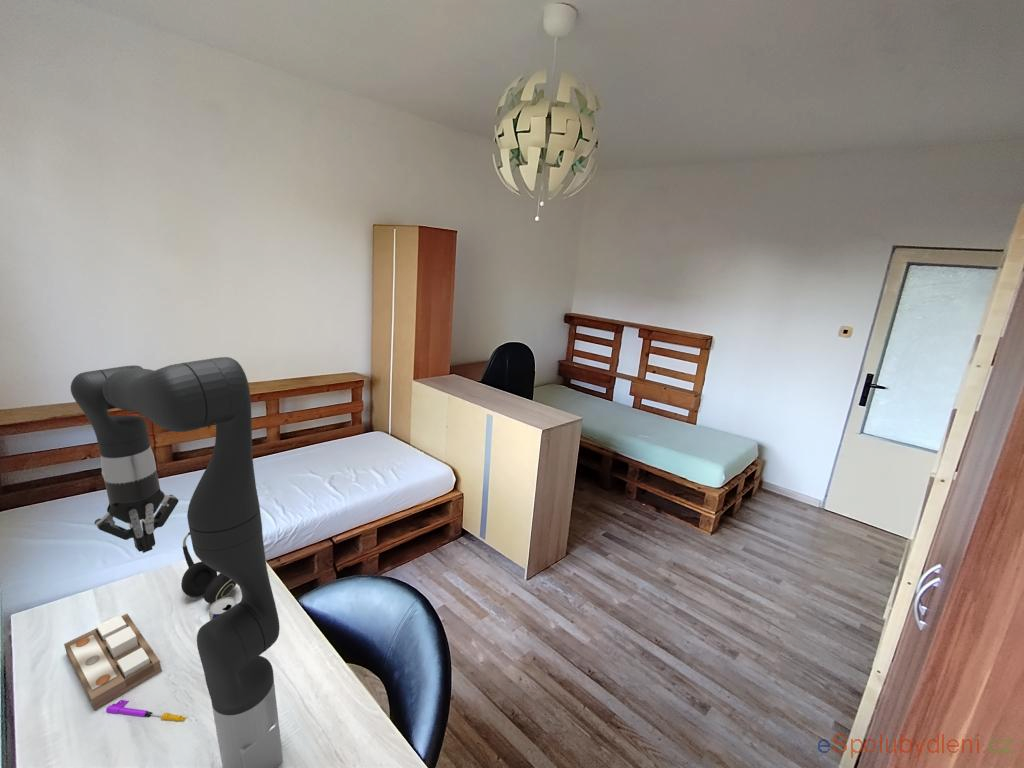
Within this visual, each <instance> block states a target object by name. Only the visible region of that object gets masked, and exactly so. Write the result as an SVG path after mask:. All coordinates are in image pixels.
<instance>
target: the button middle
mask: <svg viewBox="0 0 1024 768" xmlns="http://www.w3.org/2000/svg"><path fill="white" fill-rule="evenodd" d="M105 639H106V643H107V647H108V650H109V651H110V653H111V655H112V657H113V658H114V659H115V658H116V657H118V656H120V655H122V654H124V653H126V652H128V651H129V650H131V649H133V648H135V647H137V646H138V642H137V637H136V635H135V633H134V632H133V630H132V629H131V627H130V626H129V627H127V628H125V629H123V630H121V631H119V632H117V633H115V634H113V635H111V636H109V637H107V638H105Z"/></svg>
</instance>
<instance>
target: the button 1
mask: <svg viewBox="0 0 1024 768" xmlns="http://www.w3.org/2000/svg"><path fill="white" fill-rule="evenodd" d="M121 616H122V615H121V614H118V615H117V616H114V617H112V618H111V619H110V618H109V619H108V620H106V621H104V622H102V623H100V624H97V625H96V628H97V630H98V634H99V637H100V639H101V640H102V642H103V641H105V640H106V639H105V638H107V637H109V636H111V635H113V634H115V633H117V632H119V631H121V630H123V629H125V628H127V625H126V623H125V621H124V620H123V618H122V617H121Z"/></svg>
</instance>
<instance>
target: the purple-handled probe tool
mask: <svg viewBox="0 0 1024 768" xmlns="http://www.w3.org/2000/svg"><path fill="white" fill-rule="evenodd" d="M129 702H130V701H129V700H125V699H120V700H118V701H117V702H116V703H112V704H111V705H109V706H107V707H106V709H105V711H106V712H107V713H108V714H109V713H110V714H117V715H118V714H119V715H121V714H122V715H127V716H135V717H141V718H142V717H143V718H146V717H147V718H150V717H151V716H154V717H160V720H161V721H170V722H171V721H173V722H177V723H178V722H184V721H186V719H187V717H185V716H183V715H179V714H172V713H170V712H164V713H162V714H161V715H160V714H153V712H152V711H149V710H144V709H138V708H131V707H130V708H129V707H126V705H127V704H128V703H129Z"/></svg>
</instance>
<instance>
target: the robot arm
mask: <svg viewBox="0 0 1024 768" xmlns="http://www.w3.org/2000/svg"><path fill="white" fill-rule="evenodd" d="M249 385H250V384H249V380H248V378H247V375H246V372H245V370H244V368H243V367H242V365H241V364H240V362H238V361H237V360H236V359H234V358H232V357H228V356H221V357H214V358H207V359H199V360H192V361H187V362H186V361H185V362H181V363H174V364H169V365H166V366H163V367H161V368H158V369H156V370H154V369H149V368H144V367H142V366H140V365H137V364H136V365H133V364H132V365H123V366H118V367H117V366H116V367H109V368H105V369H104V368H103V369H96V370H89V371H84V372H80V373H78V374H77V375H75V377H73V379H72V381H71V384H70V393H71V396H72V397H73V399H74V400H75V402H76V404H77V405H78V406H79V408H80V409H81V411H82V412H83V413H84V415H85V417H86V418H87V419H88V421H89V423H90V425H91V427H92V429H93V432H94V434H95V438H96V442H97V446H98V449H99V455H100V467H101V475H102V477H103V480H104V487H105V489H106V493H107V498H108V506H107V508H106V512H107V513H106V514H105V515H103V516H102V518H97V519H95V521H94V525H95V527H96V528H97V529H98V530H99V531H102V532H104V533H107V534H109V535H112V536H114V537H116V538H120V539H122V540H125V541H128V540H129V539H133V542H134V547H135V548H136V550H137V551H138V552H141V553H142V554H145V553H147V552H149V551H152V550H153V547H155V546H156V539H155V533H154V532H155V531H156V530H157V528H162V527H163V526H164V525H165V523H166V522H167V521H168V520H169V517H170V516H171V515H172V513H173V511H174V510H175V508H176V507H177V505H178V503H179V500H180V499H178V498H177V497H176V495H175V496H174V494H169V495H167V494H165V493H164V492H163V490H161V485H160V481H159V480H160V479H159V475H158V471H157V465H156V460H155V459H156V458H155V455H154V451H153V449H152V447H151V442H150V436H149V430H148V427H147V426H148V425H147V423H146V420H145V419H147V420H149V421H150V422H152V423H153V424H155V425H156V426H158V427H160V428H162V429H165V430H166V431H169V432H176V433H177V432H178V433H182V432H183V433H184V432H190V431H197V430H198V429H202V428H206V427H209V426H213V425H215V442H214V447H213V451H212V455H211V456H210V459H209V462H208V464H207V466H206V468H205V470H204V472H203V473H202V476H201V477H200V480H199V482H198V483H197V486H196V487H195V490H194V491H193V493H192V496H191V498H190V501H189V504H188V507H187V513H186V514H187V515H186V516H187V517H186V518H187V525H188V530H189V532H190V535H189V536H190V540H191V544H192V545H191V546H192V550H193V553H194V555H195V556H196V557H197V558H198V559H199V560H200V562H203V563H204V564H206V565H207V566H209V567H210V568H212V569H214V570H215V571H217V573H219V574H220V573H221V574H223V575H225V576H227V577H228V578H230V579H231V580H233V581H234V582H235V583H236V585H237V586H239V588H240V592H241V600H240V602H237V604H236V605H235V606H233V607H232V608H230V609H228V610H227V611H225V612H223V613H222V614H220V615H219V616H217V617H215V618H214V619H212V620H210V619H209V621H207V622H206V623H204V624H203V625H202V626H201V627H200V628H198V631H197V635H196V647H197V651H198V655H199V659H200V661H201V665H202V670H203V673H204V679H205V684H206V687H207V691H208V694H209V697H210V700H211V706H212V707H211V708H212V713H213V718H214V725H215V732H216V737H217V743H218V748H219V749H218V750H219V755H220V761H221V765H222V768H277V767H278V766H279V765H280V764H281V763H283V761H284V760H283V752H282V751H283V750H282V749H283V748H282V740H281V731H280V722H279V721H280V720H279V713H278V705H277V696H276V685H275V676H274V669H273V665H272V664H271V662H270V660H269V659H268V658H266V657H264V656H261V655H262V654H264V653H265V652H266V651H267V650H268V649H270V648H271V647H272V646H273V645H274V644H275V643H276V642H277V640H278V638H279V635H280V620H279V615H278V614H279V613H278V609H277V605H276V602H275V598H274V594H273V589H272V585H271V581H270V577H269V572H268V566H267V562H266V561H267V560H266V552H265V546H264V535H263V521H262V516H261V515H262V514H261V509H260V508H261V507H260V502H259V496H258V491H257V483H256V477H255V468H254V466H255V465H254V459H253V433H252V432H253V429H252V427H253V426H252V425H253V424H252V421H253V420H252V401H251V400H252V399H251V398H252V397H251V392H250V386H249ZM113 409H119V410H123V411H128V412H135V413H138V414H140V415H141V416H142V417H143V418H142V417H140V416H138V415H109V412H108V410H113ZM144 418H145V419H144ZM159 507H160V508H159ZM114 518H115V519H116V520H119V521H121V522H123V523H126V524H128V526H129V528H128V529H127V528H125V527H122V526H120V525H117V524H116V522H115V520H114Z"/></svg>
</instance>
